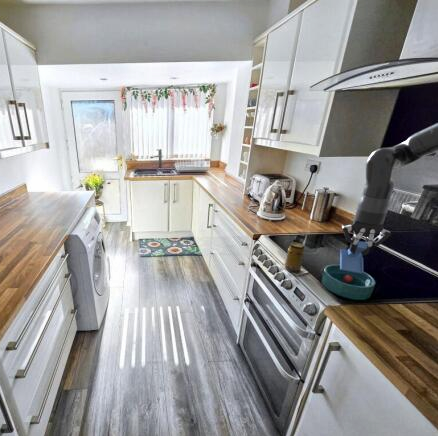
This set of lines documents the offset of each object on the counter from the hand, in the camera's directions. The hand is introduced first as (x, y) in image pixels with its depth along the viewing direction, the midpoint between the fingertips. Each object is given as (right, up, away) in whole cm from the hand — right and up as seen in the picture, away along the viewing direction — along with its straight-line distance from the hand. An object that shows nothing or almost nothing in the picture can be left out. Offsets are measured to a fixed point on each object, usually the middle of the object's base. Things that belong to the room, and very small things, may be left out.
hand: (358, 253), depth 87 cm
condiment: (-11, -10, +21) cm, 26 cm away
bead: (+4, -12, +9) cm, 15 cm away
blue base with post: (+2, -4, +6) cm, 7 cm away
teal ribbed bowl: (+1, -15, +8) cm, 17 cm away
